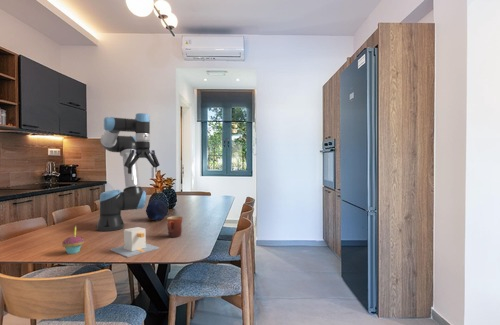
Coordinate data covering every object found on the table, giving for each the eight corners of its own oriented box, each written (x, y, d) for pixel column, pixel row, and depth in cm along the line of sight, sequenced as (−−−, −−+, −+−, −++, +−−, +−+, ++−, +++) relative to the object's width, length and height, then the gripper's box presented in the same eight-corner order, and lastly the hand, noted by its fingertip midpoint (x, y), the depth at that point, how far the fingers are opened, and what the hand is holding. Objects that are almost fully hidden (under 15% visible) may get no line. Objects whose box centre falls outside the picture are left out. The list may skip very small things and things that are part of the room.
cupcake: (68, 249, 135) (68, 224, 134) (87, 249, 135) (87, 224, 135) (58, 255, 126) (58, 228, 126) (78, 255, 127) (78, 228, 127)
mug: (171, 233, 164) (171, 215, 164) (185, 234, 162) (185, 216, 162) (160, 239, 152) (160, 220, 152) (175, 240, 150) (175, 220, 150)
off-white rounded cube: (124, 248, 134) (123, 229, 134) (137, 245, 140) (137, 226, 140) (135, 252, 128) (135, 232, 128) (149, 248, 133) (149, 229, 133)
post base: (110, 250, 134) (110, 237, 134) (141, 242, 146) (141, 230, 146) (127, 257, 124) (127, 243, 124) (159, 248, 136) (159, 236, 136)
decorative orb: (152, 216, 187) (163, 196, 195) (137, 213, 195) (148, 195, 203) (165, 225, 197) (175, 206, 205) (150, 223, 205) (160, 205, 212)
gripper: (124, 139, 147) (124, 180, 148) (165, 142, 167) (165, 178, 167) (117, 140, 152) (117, 179, 152) (158, 142, 171) (158, 177, 172)
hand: (142, 179), depth 160 cm, fingers open, 13 cm apart
